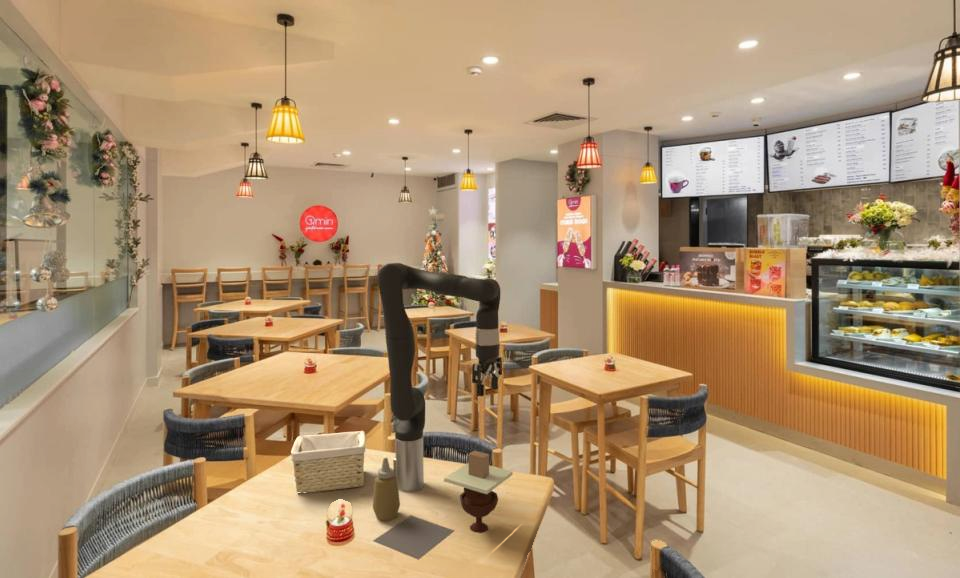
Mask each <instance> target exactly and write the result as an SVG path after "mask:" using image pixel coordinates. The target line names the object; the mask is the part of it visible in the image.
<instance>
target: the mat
mask: <svg viewBox="0 0 960 578" xmlns="http://www.w3.org/2000/svg"><path fill="white" fill-rule="evenodd" d="M454 532H455V530H454V529H451V528H448V527H445V526H443V525H439V524H437V523H434V522H431V521H428V520H426V519H423V518H420V517H416V516H414V515H412V514H411V515H409V516H408V517H406V518H405V519H403V520H402V521H400V522H399V523H397V524H395V525H394V526H393V527H391V528H390V529H388V530H387V531H385V532H383V533H382V534H381V535H380V536H378V537H376V538H375V539H374V540H372V542H374V543H377V544H379V545H382V546H384V547H387V548H389V549H391V550H394V551H397V552H398V553H401V554H404V555H406V556H409V557H411V558H413V559H416V560H418V561H419V560H420V559H422V557H424V556H425V555H426V554H428V553H429V552H430V551H431V550H433V549H434V548H435V547H436V546H437V545H439V544H440V543H442V542H443V541H444V540H445V539H446V538H447V537H449V536H450V535H451V534H453V533H454Z"/></svg>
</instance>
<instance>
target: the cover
mask: <svg viewBox="0 0 960 578" xmlns="http://www.w3.org/2000/svg"><path fill="white" fill-rule="evenodd" d="M511 476H512V477H513V471H512V470H508V469H505V468H501V467H497V466H494V465H490V454H489V453H485V452H482V451H478V450H473V451H471V452H469V453H468V463H465V464H463V465H462V466H461V467H460V468H458V469H457V470H455V471H453V472H451V473H449V474H448V475H447V476H445V477H444V478H443V482H445V483H448V484H451V485H454V486H457V487H460V488H463V489H464V488H467V489H471V490H474V491H477V492H481V493H484V494H488V493H489V492H491V491H494V489H496V488H497V487H498V486H500V485H501V484H503V483H504V482H505V481H507V480H508V479H509V478H511Z"/></svg>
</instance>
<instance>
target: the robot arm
mask: <svg viewBox="0 0 960 578" xmlns="http://www.w3.org/2000/svg"><path fill="white" fill-rule="evenodd" d="M376 281H377V285H378V291H379V295H380V300H381V304H382V312H383V321H384V330H385V331H384V332H385V334H384V335H385V344H386V352H387V359H388V371H389V382H390V392H389V393H390V397H389V399H390V401H389V402H390V410H391V412H392V414H393V416H394V417H395V419H397V420H398V424H397V425H396V427H395V431H394V441H395V442H394V444H395V446H394V447H395V449H394V450H395V457H394V458H393V459H392V461H393V463H392V465H393V467H392V468H393V470H394V475H395V476H396V477H397V484H398V491H400V492H407V493H411V492H417V491H419V490H421V489H423V487H424V484H425V482H424V478H425V477H424V475H425V474H424V473H425V472H424V468H425V467H424V429H425V426H426V398H425V395H424V394H423V392H422V391H421V389H419V388H418V387H415V386H413V385H412V370H413V366H414V360H415V356H416V355H415V354H416V341H415V333H414V332H415V331H414V329H413V328H414V327H413V325H412V321H411V320H410V318H409V316H408V313H407V311H406V309H405V303H404V294H403V293H404V292H403V291H404V290H425V291H428V292H433V293H435V294H439V295H443V296H449V297H455V298H464V299H466V300H470V301H475V302H478V303H479V304H478V305H479V306H478V310H476V315H475V321H476V322H475V326H476V327H475V329H476V330H475V358H478V363H472V367H471V370H472V371H471V372H472V375H471V378H472V379H471V382H472V384H476V395H477V396H478V397H484V396H485V381H486V379H488V376H489V375H490V376H491V378H490V381H491V382H490V388H491V390H494V391H496V390H499V378H500V376H501V375H503V359H502V358H503V357H501V356H500V330H499V328H500V327H499V323H500V322H499V310H500V301H501V286H500V284H499V282H498V281H497V280H496V279H494V278H484V279H483V278H481V279H479V278H473V277H468V276H465V275H461V274H460V275H459V274H453V273H446V272H445V273H444V272H436V271H427V270H423V269H419V268H417V267H413V266H410V265H406V264H403V263H401V262H390V263H384V264H383V265H382V266H380V268H379V269H378V271H377V278H376Z"/></svg>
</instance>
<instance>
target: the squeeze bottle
mask: <svg viewBox="0 0 960 578" xmlns="http://www.w3.org/2000/svg"><path fill="white" fill-rule="evenodd" d="M373 487H374V488H373V495H372V497H373V498H372V510H373V512H374V514H375V515H374V516H375V517H376V519H377V520H379V521H381V522H389V521H392V520H394V519H395V518H396V517H397V516H398V513H399V509H400V507H401V503H400V502H401V501H400V494H399V493H400V492H399V490H398V484H397V477H396V476H395V475H394V468H393V467H390V463H389V460H388V457H384V458H383V459H382V465H381V468H378V470H377V476H376V477H375V478H374V486H373Z"/></svg>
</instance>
